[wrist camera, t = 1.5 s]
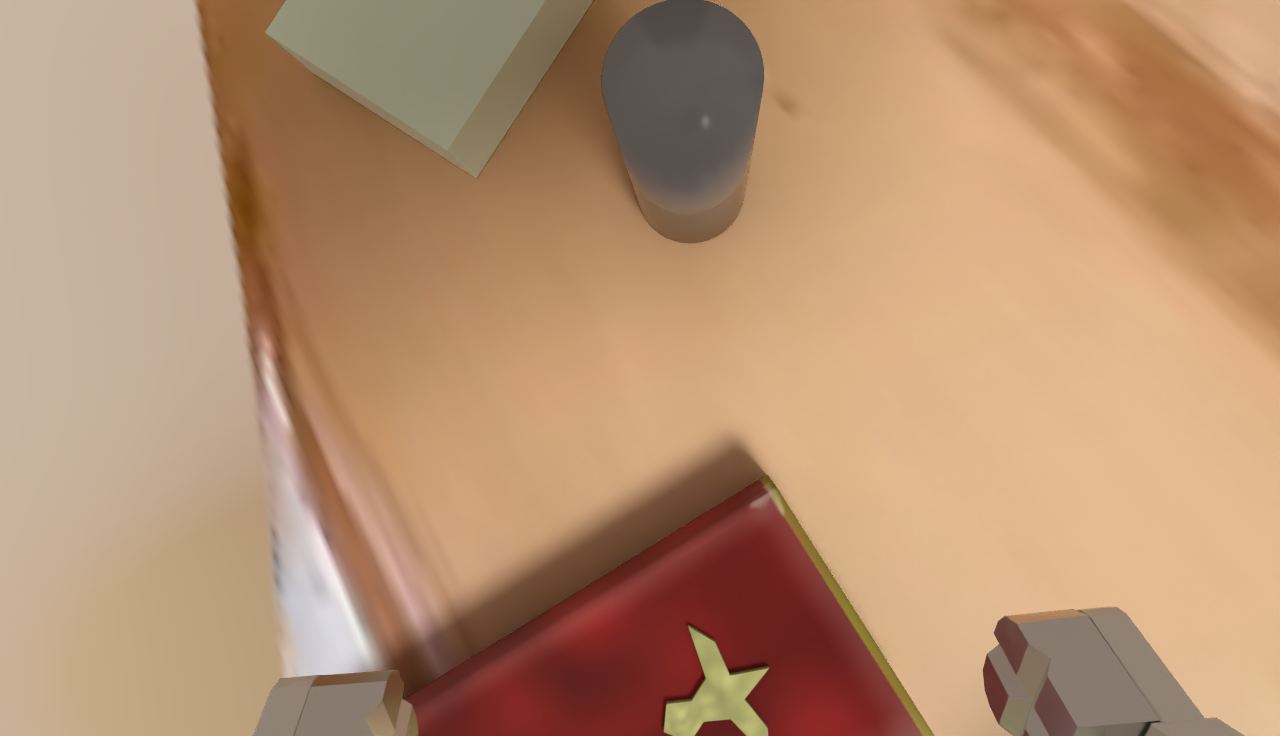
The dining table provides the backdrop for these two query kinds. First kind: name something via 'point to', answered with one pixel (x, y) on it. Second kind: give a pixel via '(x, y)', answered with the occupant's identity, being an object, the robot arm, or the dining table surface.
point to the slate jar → (685, 113)
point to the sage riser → (433, 62)
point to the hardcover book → (688, 647)
